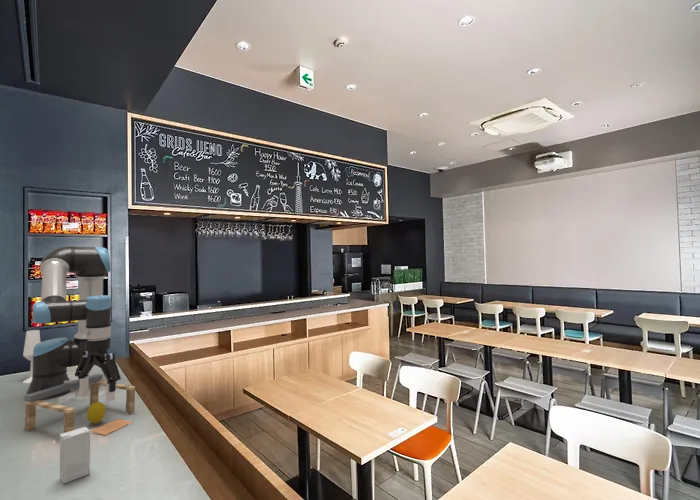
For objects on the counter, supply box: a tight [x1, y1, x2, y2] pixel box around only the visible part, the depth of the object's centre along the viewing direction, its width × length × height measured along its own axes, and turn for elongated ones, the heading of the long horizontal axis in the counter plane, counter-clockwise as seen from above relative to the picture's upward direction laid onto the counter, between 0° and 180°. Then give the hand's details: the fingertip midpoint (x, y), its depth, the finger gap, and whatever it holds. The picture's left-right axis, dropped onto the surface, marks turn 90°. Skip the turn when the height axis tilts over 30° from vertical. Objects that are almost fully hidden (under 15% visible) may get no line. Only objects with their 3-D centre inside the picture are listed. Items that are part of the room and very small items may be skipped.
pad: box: [90, 418, 133, 436], centre depth 127 cm, size 7×10×1 cm
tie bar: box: [24, 373, 104, 403], centre depth 136 cm, size 3×25×3 cm, turn 160°
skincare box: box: [59, 426, 91, 484], centre depth 99 cm, size 6×4×12 cm
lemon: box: [86, 400, 107, 425], centre depth 130 cm, size 6×6×8 cm
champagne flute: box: [22, 329, 41, 384], centre depth 176 cm, size 7×7×24 cm
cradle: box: [24, 380, 136, 433], centre depth 133 cm, size 22×24×10 cm
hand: (96, 398), depth 130 cm, fingers open, 13 cm apart
